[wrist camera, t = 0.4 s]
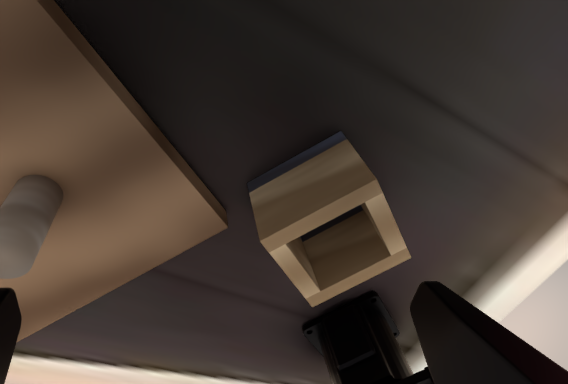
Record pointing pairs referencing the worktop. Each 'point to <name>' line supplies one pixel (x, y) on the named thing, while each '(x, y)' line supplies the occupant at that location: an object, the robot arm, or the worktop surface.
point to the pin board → (82, 173)
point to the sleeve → (326, 220)
